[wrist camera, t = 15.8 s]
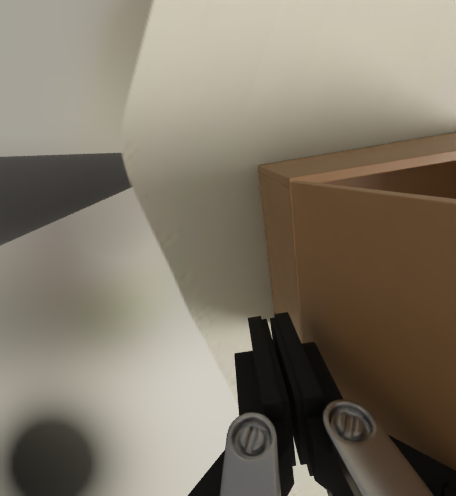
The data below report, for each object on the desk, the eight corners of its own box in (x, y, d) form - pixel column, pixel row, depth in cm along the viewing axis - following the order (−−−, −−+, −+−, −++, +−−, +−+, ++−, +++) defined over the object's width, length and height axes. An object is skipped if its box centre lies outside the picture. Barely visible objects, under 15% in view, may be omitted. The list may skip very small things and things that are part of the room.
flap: (313, 426, 14) (308, 428, 14) (297, 180, 10) (289, 181, 10) (466, 662, 7) (458, 668, 7) (640, 219, 3) (624, 225, 3)
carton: (275, 323, 22) (306, 417, 15) (257, 165, 18) (288, 177, 10) (453, 295, 22) (583, 376, 14) (479, 128, 18) (688, 111, 10)
